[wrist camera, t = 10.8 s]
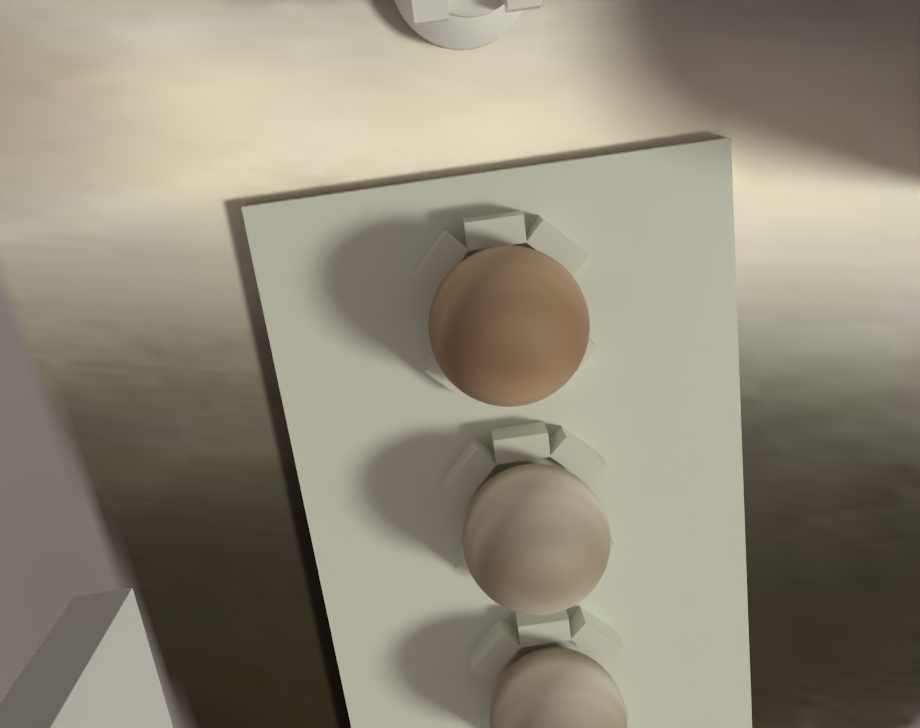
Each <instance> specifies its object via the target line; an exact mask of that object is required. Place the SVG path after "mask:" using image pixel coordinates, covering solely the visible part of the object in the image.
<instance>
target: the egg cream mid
mask: <svg viewBox="0 0 920 728" xmlns="http://www.w3.org/2000/svg"><path fill="white" fill-rule="evenodd" d="M462 547H463V553H464V557H465V561H466V564H467V567H468V569H469V571H470V573H471V575H472V577H473V579H474V580H475V582H476V583H477V585H478V586H479V587H480V588H481V590H482V591H483V592H484V593H485V594H486V595H487V596H488V597H489V598H491V599H492V600H493V601H495V602H496V603H498V604H500V605H502V606H503V607H505V608H507V609H509V610H512V611H514V612H518V613H522V614H528V615H548V614H553V613H557V612H560V611H564V610H566V609H568V608H570V607H572V606H574V605H575V604H577V603H579V602H580V601H581V600H583V599H584V598H585V597H586V596H588V595H589V594H590V593H591V592H592V590H593V589H594V588H595V587H596V585H597V584H598V582H599V581H600V579H601V577H602V576H603V574H604V571H605V569H606V567H607V563H608V559H609V555H610V548H611V533H610V527H609V522H608V519H607V516H606V513H605V510H604V508H603V506H602V504H601V502H600V501H599V499H598V498H597V496H596V495H595V493H594V492H593V491H592V490H591V489H590V487H589V486H588V485H587V484H585V483H584V482H583V481H582V480H581V479H579V478H578V477H577V476H575V475H573V474H572V473H570V472H568V471H566V470H563V469H561V468H558V467H555V466H551V465H545V464H524V465H520V466H515V467H512V468H509V469H507V470H505V471H502V472H500V473H499V474H497V475H495V476H494V477H492V478H491V479H490V480H489V481H487V482H486V483H485V484H484V485H483V486H482V487H481V488H480V490H479V491H478V492H477V494H476V495H475V496H474V498H473V499H472V501H471V503H470V505H469V507H468V510H467V512H466V515H465V518H464V523H463V530H462Z"/></svg>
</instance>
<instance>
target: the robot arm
mask: <svg viewBox="0 0 920 728" xmlns="http://www.w3.org/2000/svg"><path fill="white" fill-rule="evenodd" d="M0 728H173V726H172V722H171V719H170V716H169V712H168V709H167V705H166V702H165V698H164V695H163V692H162V688H161V685H160V681H159V678H158V674H157V671H156V668H155V664H154V661H153V657H152V654H151V650H150V647H149V644H148V640H147V637H146V633H145V630H144V626H143V623H142V620H141V616H140V613H139V609H138V606H137V602H136V599H135V595H134V592H133V589H132V588H127V589H120V590H114V591H106V592H100V593H92V594H85V595H78V596H74V597H73V599H72V600H71V602H70V603H69V604H68V606H67V607H66V609H65V610H64V612H63V613H62V615H61V616H60V618H59V619H58V620H57V622H56V623H55V625H54V626H53V628H52V629H51V630H50V632H49V633H48V635H47V636H46V638H45V639H44V641H43V642H42V643H41V645H40V647H39V648H38V649H37V651H36V652H35V654H34V655H33V657H32V658H31V659H30V661H29V662H28V664H27V665H26V667H25V668H24V669H23V671H22V672H21V674H20V675H19V677H18V678H17V680H16V681H15V682H14V684H13V685H12V687H11V688H10V690H9V691H8V693H7V694H6V695H5V697H4V698H3V700H2V701H1V703H0Z"/></svg>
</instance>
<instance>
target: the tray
mask: <svg viewBox="0 0 920 728" xmlns="http://www.w3.org/2000/svg"><path fill="white" fill-rule="evenodd" d="M241 209H242V214H243V219H244V224H245V228H246V233H247V238H248V243H249V247H250V252H251V257H252V261H253V266H254V271H255V276H256V280H257V285H258V290H259V295H260V299H261V304H262V309H263V313H264V318H265V323H266V328H267V332H268V337H269V342H270V346H271V351H272V356H273V361H274V365H275V370H276V375H277V380H278V384H279V389H280V394H281V398H282V403H283V408H284V413H285V417H286V422H287V427H288V431H289V436H290V441H291V446H292V450H293V455H294V460H295V465H296V469H297V474H298V479H299V483H300V488H301V493H302V498H303V502H304V507H305V512H306V516H307V521H308V526H309V531H310V535H311V540H312V545H313V550H314V554H315V559H316V564H317V568H318V573H319V578H320V583H321V587H322V592H323V597H324V601H325V606H326V611H327V616H328V620H329V625H330V630H331V635H332V639H333V644H334V649H335V653H336V658H337V663H338V668H339V672H340V677H341V682H342V686H343V691H344V696H345V701H346V705H347V710H348V715H349V720H350V724H351V728H490V724H489V713H490V705H491V700H492V696H493V693H494V691H495V688H496V686H497V684H498V682H499V680H500V678H501V677H502V675H503V674H504V673H505V672H506V670H507V669H508V668H509V667H510V666H511V665H512V664H513V663H514V662H516V661H517V660H518V659H520V658H521V657H523V656H524V655H526V654H528V653H530V652H533V651H536V650H539V649H543V648H551V647H560V648H567V649H572V650H575V651H578V652H581V653H583V654H585V655H587V656H589V657H590V658H592V659H594V660H595V661H596V662H598V663H599V664H600V665H601V666H602V667H603V668H604V669H605V670H606V671H607V672H608V673H609V674H610V676H611V677H612V678H613V680H614V681H615V683H616V684H617V686H618V688H619V690H620V692H621V695H622V697H623V700H624V703H625V707H626V713H627V728H752V711H751V684H750V656H749V628H748V601H747V573H746V546H745V518H744V491H743V463H742V435H741V408H740V380H739V353H738V325H737V298H736V270H735V242H734V215H733V187H732V160H731V138H727V137H722V138H715V139H708V140H701V141H694V142H687V143H680V144H673V145H666V146H659V147H651V148H644V149H637V150H630V151H623V152H616V153H609V154H602V155H595V156H588V157H581V158H574V159H567V160H560V161H553V162H546V163H539V164H532V165H525V166H518V167H511V168H503V169H496V170H489V171H482V172H475V173H468V174H461V175H454V176H447V177H440V178H433V179H426V180H419V181H412V182H405V183H398V184H391V185H384V186H377V187H370V188H363V189H355V190H348V191H341V192H334V193H327V194H320V195H313V196H306V197H299V198H292V199H285V200H278V201H271V202H264V203H257V204H250V205H244V206H243V207H241ZM497 246H521V247H527V248H531V249H534V250H537V251H540V252H542V253H544V254H546V255H548V256H550V257H551V258H553V259H554V260H556V261H557V262H559V263H560V264H561V265H562V266H563V267H564V268H566V269H567V270H568V271H569V273H570V274H571V275H572V276H573V277H574V279H575V280H576V282H577V283H578V285H579V287H580V289H581V291H582V293H583V295H584V297H585V300H586V304H587V307H588V312H589V318H590V332H589V340H588V345H587V349H586V352H585V355H584V357H583V360H582V362H581V363H580V365H579V367H578V369H577V370H576V372H575V373H574V374H573V376H572V377H571V378H570V379H569V380H568V382H567V383H566V384H565V385H564V386H563V387H561V388H560V389H559V390H558V391H556V392H555V393H553V394H552V395H550V396H549V397H547V398H545V399H543V400H540V401H538V402H535V403H532V404H528V405H523V406H516V407H501V406H495V405H490V404H486V403H483V402H480V401H478V400H475V399H473V398H471V397H469V396H468V395H466V394H464V393H463V392H461V391H460V390H459V389H458V388H457V387H455V386H454V385H453V384H452V383H451V382H450V381H449V379H448V378H447V377H446V376H445V375H444V373H443V372H442V370H441V369H440V367H439V365H438V363H437V362H436V360H435V357H434V354H433V352H432V348H431V344H430V339H429V330H428V324H429V314H430V309H431V305H432V302H433V299H434V296H435V293H436V291H437V289H438V287H439V285H440V284H441V282H442V281H443V279H444V278H445V277H446V276H447V274H448V273H449V272H450V271H451V270H452V269H453V268H454V267H455V266H456V265H457V264H459V263H460V262H461V261H463V260H464V259H466V258H467V257H469V256H471V255H473V254H475V253H477V252H479V251H482V250H485V249H488V248H493V247H497ZM524 464H545V465H551V466H555V467H558V468H561V469H563V470H566V471H568V472H570V473H572V474H573V475H575V476H577V477H578V478H579V479H581V480H582V481H583V482H584V483H585V484H587V485H588V486H589V487H590V489H591V490H592V491H593V492H594V493H595V495H596V496H597V498H598V499H599V501H600V502H601V504H602V506H603V508H604V510H605V513H606V516H607V519H608V522H609V527H610V533H611V548H610V555H609V559H608V563H607V567H606V569H605V571H604V574H603V576H602V577H601V579H600V581H599V582H598V584H597V585H596V587H595V588H594V589H593V590H592V592H591V593H590V594H589V595H588V596H586V597H585V598H584V599H583V600H581V601H580V602H579V603H577V604H575V605H574V606H572V607H570V608H568V609H566V610H564V611H560V612H557V613H553V614H548V615H528V614H522V613H518V612H514V611H512V610H509V609H507V608H505V607H503V606H502V605H500V604H498V603H496V602H495V601H493V600H492V599H491V598H489V597H488V596H487V595H486V594H485V593H484V592H483V591H482V590H481V588H480V587H479V586H478V585H477V583H476V582H475V580H474V579H473V577H472V575H471V573H470V571H469V569H468V567H467V564H466V561H465V557H464V553H463V547H462V530H463V523H464V518H465V515H466V512H467V510H468V507H469V505H470V503H471V501H472V499H473V498H474V496H475V495H476V494H477V492H478V491H479V490H480V488H481V487H482V486H483V485H484V484H485V483H486V482H487V481H489V480H490V479H491V478H492V477H494V476H495V475H497V474H499V473H500V472H502V471H505V470H507V469H509V468H512V467H515V466H520V465H524Z"/></svg>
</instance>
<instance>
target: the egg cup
mask: <svg viewBox="0 0 920 728" xmlns="http://www.w3.org/2000/svg"><path fill="white" fill-rule="evenodd" d="M394 2H395V4H396V6H397V8H398V11H399V13H400V14H401V16H402V17H403V19H404V20H405V22H406V23H407V24H408V25H409V26H410V28H411V29H412V30H413V31H414V32H416V33H417V34H418V35H419V36H420V37H422V38H423V39H425V40H426V41H428V42H430V43H432V44H434V45H437V46H439V47H442V48H446V49H451V50H470V49H475V48H479V47H482V46H485V45H487V44H489V43H491V42H493V41H495V40H497V39H498V38H499V37H501V36H502V35H503V34H505V33H506V32H507V31H508V30H509V29H510V28H511V27H512V26H513V25H514V24H515V23H516V22H517V20H518V19H519V18H520V16H521V15H522V13H523V11H524V10H531V9H538V8H540V7H541V6H543V0H394Z"/></svg>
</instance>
